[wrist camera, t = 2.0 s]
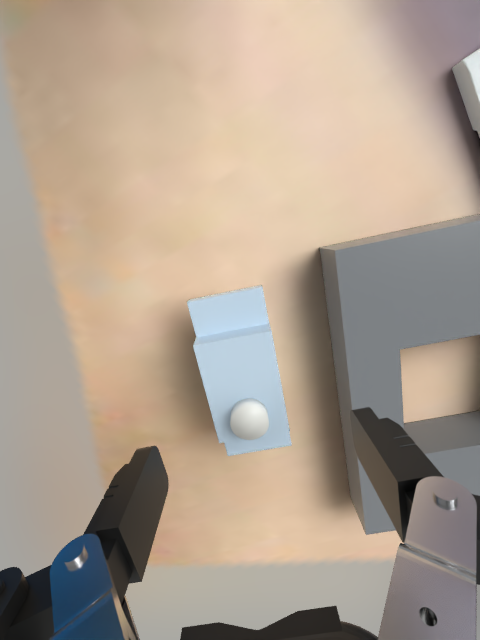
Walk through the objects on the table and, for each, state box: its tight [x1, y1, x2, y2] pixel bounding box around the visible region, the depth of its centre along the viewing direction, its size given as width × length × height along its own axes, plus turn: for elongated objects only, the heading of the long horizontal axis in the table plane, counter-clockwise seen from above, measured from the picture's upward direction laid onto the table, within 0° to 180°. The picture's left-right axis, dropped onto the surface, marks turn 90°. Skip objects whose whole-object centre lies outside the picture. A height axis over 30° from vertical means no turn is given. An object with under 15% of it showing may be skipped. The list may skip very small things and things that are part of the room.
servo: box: [187, 285, 292, 456], centre depth 17 cm, size 10×4×6 cm, turn 12°
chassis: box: [320, 214, 480, 535], centre depth 19 cm, size 20×14×3 cm
